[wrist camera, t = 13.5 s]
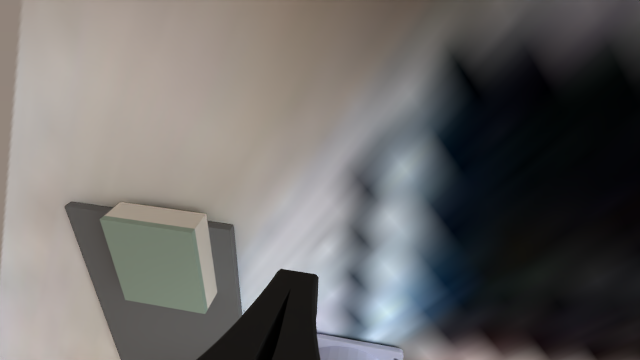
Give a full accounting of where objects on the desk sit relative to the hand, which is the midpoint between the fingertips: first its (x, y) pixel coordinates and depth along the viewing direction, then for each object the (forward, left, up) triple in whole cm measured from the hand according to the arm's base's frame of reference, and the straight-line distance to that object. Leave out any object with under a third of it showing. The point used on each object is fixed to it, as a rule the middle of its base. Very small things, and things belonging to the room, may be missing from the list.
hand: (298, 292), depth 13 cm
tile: (-7, +14, -8) cm, 18 cm away
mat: (-15, +13, -9) cm, 22 cm away
